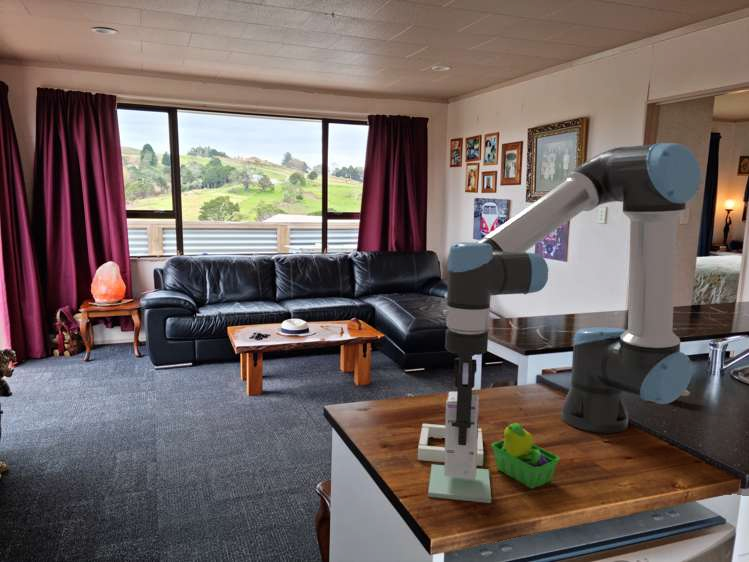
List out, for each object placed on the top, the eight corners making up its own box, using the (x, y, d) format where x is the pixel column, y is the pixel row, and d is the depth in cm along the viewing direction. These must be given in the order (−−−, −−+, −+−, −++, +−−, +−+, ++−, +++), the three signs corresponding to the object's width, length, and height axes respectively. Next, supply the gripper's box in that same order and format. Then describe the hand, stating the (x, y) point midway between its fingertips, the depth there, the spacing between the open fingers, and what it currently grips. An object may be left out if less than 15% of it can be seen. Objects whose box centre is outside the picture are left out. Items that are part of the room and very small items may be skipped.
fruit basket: (560, 483, 106) (564, 426, 104) (527, 495, 101) (531, 436, 100) (515, 459, 115) (518, 406, 114) (483, 469, 111) (486, 415, 109)
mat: (488, 473, 109) (488, 469, 109) (491, 503, 98) (491, 498, 98) (431, 468, 111) (431, 464, 111) (428, 496, 100) (428, 492, 100)
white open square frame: (480, 439, 125) (481, 428, 125) (482, 465, 112) (483, 454, 112) (422, 434, 127) (422, 423, 127) (417, 459, 114) (418, 448, 114)
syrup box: (475, 480, 101) (479, 403, 99) (442, 477, 102) (445, 400, 100) (476, 466, 106) (480, 392, 104) (445, 462, 108) (448, 389, 105)
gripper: (447, 317, 110) (442, 430, 113) (443, 340, 92) (438, 474, 95) (486, 319, 109) (480, 433, 112) (490, 343, 91) (483, 478, 94)
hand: (461, 451), depth 104 cm, fingers closed on syrup box, 6 cm apart
